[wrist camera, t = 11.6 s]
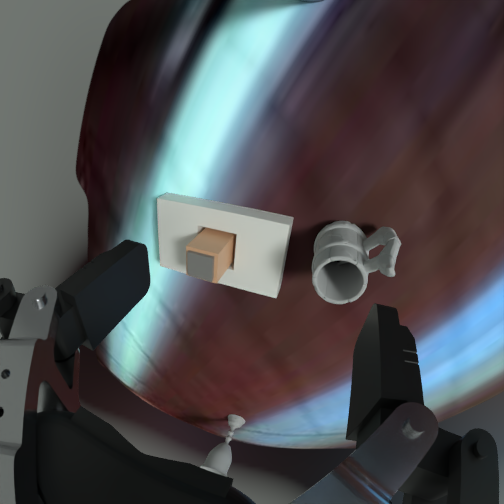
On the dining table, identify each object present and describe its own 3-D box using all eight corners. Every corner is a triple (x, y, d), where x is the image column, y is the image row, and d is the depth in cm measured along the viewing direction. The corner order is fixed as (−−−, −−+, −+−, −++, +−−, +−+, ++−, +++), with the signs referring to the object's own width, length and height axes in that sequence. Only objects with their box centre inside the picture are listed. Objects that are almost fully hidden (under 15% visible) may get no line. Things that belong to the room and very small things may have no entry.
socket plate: (167, 192, 44) (157, 198, 41) (293, 217, 40) (289, 225, 37) (169, 257, 50) (160, 265, 47) (280, 287, 46) (276, 298, 43)
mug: (305, 231, 40) (290, 276, 30) (381, 197, 35) (396, 232, 25) (328, 274, 42) (321, 328, 32) (401, 245, 37) (418, 294, 27)
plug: (210, 223, 44) (183, 247, 37) (239, 229, 43) (216, 256, 36) (209, 249, 46) (184, 277, 39) (236, 256, 46) (215, 286, 38)
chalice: (253, 423, 69) (232, 478, 54) (238, 427, 73) (216, 477, 57) (234, 410, 68) (210, 466, 53) (219, 414, 71) (194, 465, 56)
